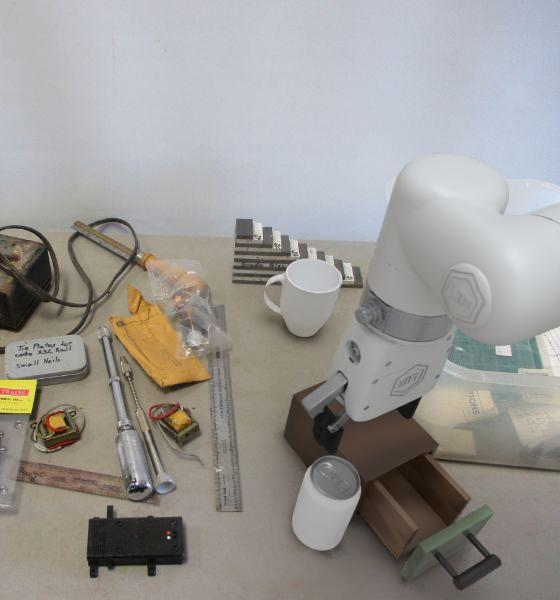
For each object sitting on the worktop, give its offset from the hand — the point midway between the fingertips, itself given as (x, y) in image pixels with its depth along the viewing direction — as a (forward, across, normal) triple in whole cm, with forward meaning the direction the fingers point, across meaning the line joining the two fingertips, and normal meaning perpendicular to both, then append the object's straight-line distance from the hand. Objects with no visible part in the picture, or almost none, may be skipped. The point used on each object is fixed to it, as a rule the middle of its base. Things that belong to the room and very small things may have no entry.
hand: (362, 425), depth 60 cm
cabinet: (+22, +9, +7) cm, 25 cm away
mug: (+22, +18, +32) cm, 42 cm away
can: (+22, -1, 0) cm, 22 cm away
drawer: (+21, +9, -5) cm, 24 cm away
